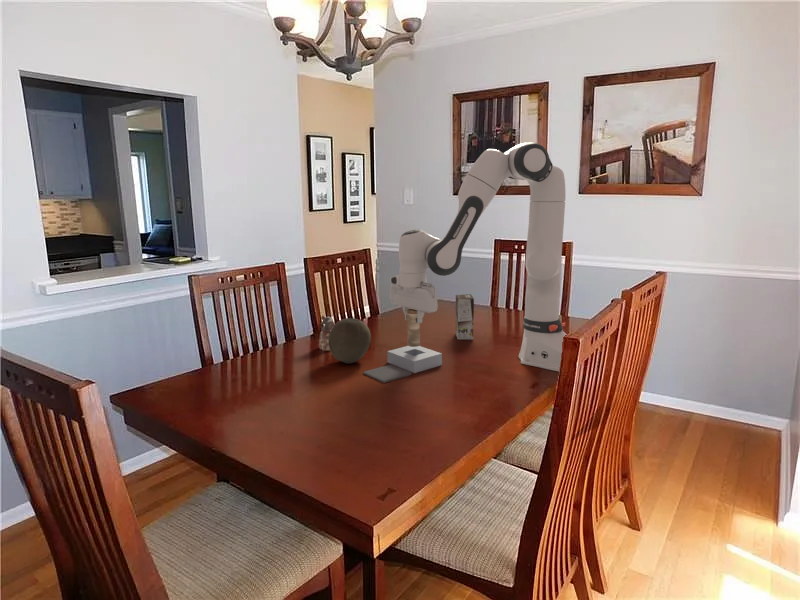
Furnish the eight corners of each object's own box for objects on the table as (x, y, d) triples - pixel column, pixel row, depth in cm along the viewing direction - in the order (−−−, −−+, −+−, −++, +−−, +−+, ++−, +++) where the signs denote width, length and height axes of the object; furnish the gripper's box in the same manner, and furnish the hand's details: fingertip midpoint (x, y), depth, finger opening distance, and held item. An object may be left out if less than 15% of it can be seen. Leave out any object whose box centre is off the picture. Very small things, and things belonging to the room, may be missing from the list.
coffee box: (473, 339, 206) (474, 298, 203) (457, 339, 207) (457, 298, 203) (471, 333, 215) (471, 293, 212) (455, 333, 215) (455, 294, 212)
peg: (422, 345, 178) (422, 310, 176) (413, 347, 176) (412, 312, 173) (414, 342, 181) (414, 308, 179) (405, 344, 179) (404, 309, 176)
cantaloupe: (365, 369, 175) (363, 325, 171) (324, 367, 177) (321, 323, 174) (375, 356, 188) (374, 314, 185) (337, 354, 191) (335, 313, 188)
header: (441, 364, 178) (441, 353, 177) (414, 373, 171) (414, 361, 170) (414, 355, 189) (414, 344, 188) (387, 362, 181) (387, 351, 181)
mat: (411, 374, 169) (411, 372, 169) (384, 383, 163) (384, 381, 163) (390, 366, 178) (390, 364, 178) (363, 373, 171) (363, 371, 171)
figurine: (328, 351, 194) (327, 319, 192) (315, 348, 198) (313, 317, 196) (342, 346, 200) (341, 315, 197) (328, 343, 204) (327, 313, 201)
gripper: (442, 282, 168) (442, 325, 171) (401, 275, 184) (401, 314, 187) (427, 285, 164) (427, 329, 167) (386, 277, 180) (387, 317, 183)
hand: (413, 321), depth 177 cm, fingers closed on peg, 4 cm apart
